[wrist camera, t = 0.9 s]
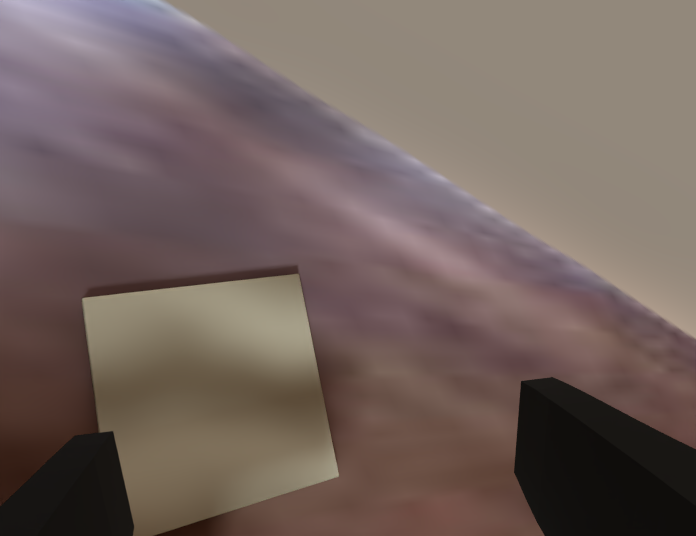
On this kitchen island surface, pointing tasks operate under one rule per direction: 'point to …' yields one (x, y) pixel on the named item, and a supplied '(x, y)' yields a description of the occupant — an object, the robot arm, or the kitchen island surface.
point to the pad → (208, 397)
